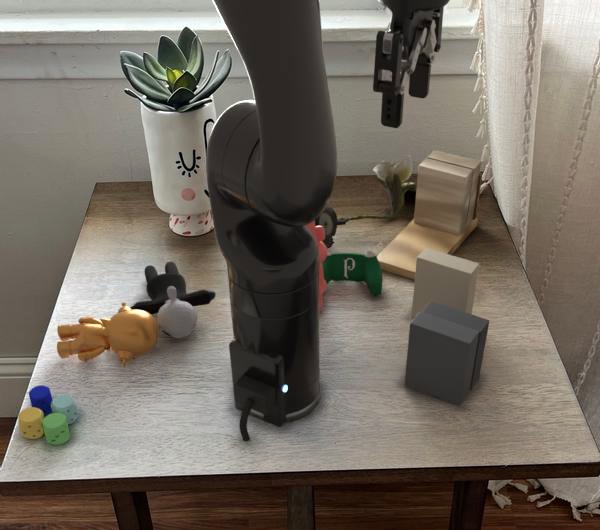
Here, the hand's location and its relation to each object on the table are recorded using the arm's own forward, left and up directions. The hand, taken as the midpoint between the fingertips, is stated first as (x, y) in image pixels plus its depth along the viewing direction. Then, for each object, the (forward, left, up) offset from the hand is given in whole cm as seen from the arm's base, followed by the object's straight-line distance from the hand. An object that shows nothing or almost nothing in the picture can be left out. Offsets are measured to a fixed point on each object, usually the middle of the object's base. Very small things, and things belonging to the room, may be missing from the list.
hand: (405, 110), depth 92 cm
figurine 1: (-32, +28, -22) cm, 48 cm away
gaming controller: (-2, +6, -25) cm, 25 cm away
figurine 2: (-19, +22, -24) cm, 38 cm away
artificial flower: (+15, +11, -25) cm, 31 cm away
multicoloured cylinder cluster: (-39, +20, -23) cm, 49 cm away
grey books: (-13, -13, -24) cm, 31 cm away
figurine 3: (-9, +8, -25) cm, 27 cm away
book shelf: (+12, +1, -24) cm, 27 cm away
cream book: (-3, -8, -24) cm, 26 cm away
